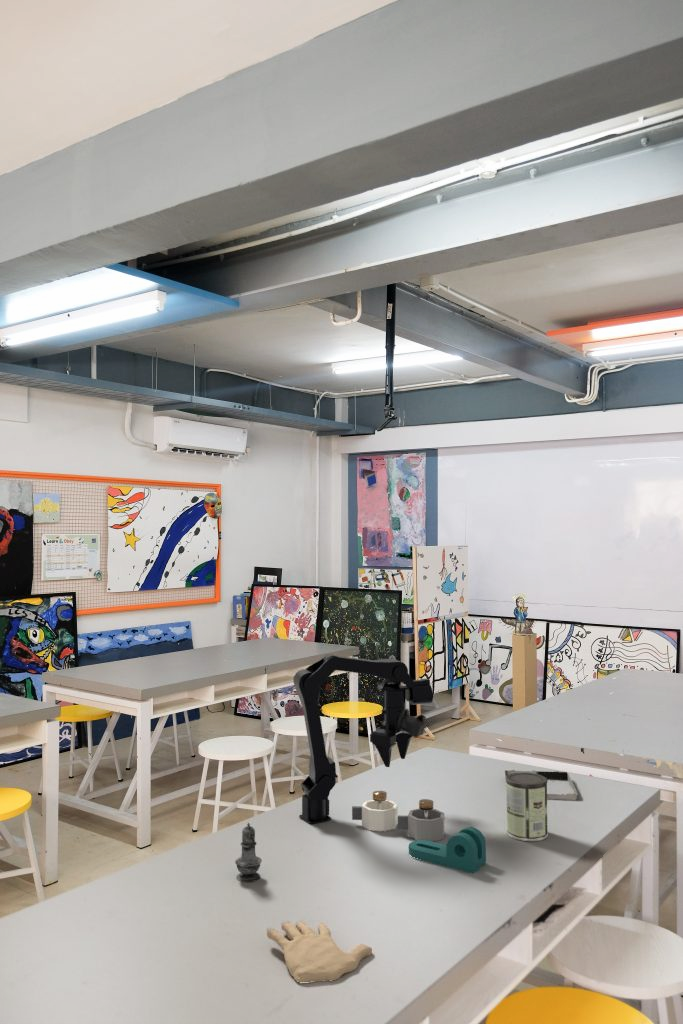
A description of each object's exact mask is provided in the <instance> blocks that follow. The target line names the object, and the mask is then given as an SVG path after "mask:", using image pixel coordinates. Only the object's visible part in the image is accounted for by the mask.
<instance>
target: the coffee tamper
mask: <svg viewBox="0 0 683 1024" xmlns="http://www.w3.org/2000/svg"><path fill="white" fill-rule="evenodd" d="M419 808H420V809H421V810H424V819H428V810H432V809H434V800H432V799H427V798H423V799H420V800H419V801H418V809H419Z"/></svg>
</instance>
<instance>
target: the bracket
mask: <svg viewBox="0 0 683 1024" xmlns="http://www.w3.org/2000/svg"><path fill="white" fill-rule="evenodd" d="M486 841H487V840H486V839H485V836H484V834H483V832H482V831H481V830H480V829H478V828H476V827H473V826H466V827H464V828H462V829H461V830H460V831H458V832H457V833H455V834H453V836H451V837H450V838H449V839H448V841H447V842H446V844H443V843H440V842H437V841H433V842H431V841H426V840H417V841H416V840H414V841H411V842H409V843H408V855H409V854H410V855H411V856H412V857H415V858H418V859H421V860H420V861H422V860H424V861H423V862H426V861H428V862H427V863H430V862H431V863H430V864H435V865H439V866H442V867H443V866H444V867H445V868H446V867H447V868H451V869H455V870H457V871H458V870H459V871H463V872H466V873H470V874H475V873H476V872H478V871H479V870H480V869H481V868H482V867H483V866H485V865H486V864H487V842H486ZM412 857H411V858H412ZM418 859H417V860H418Z"/></svg>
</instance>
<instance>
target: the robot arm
mask: <svg viewBox="0 0 683 1024" xmlns="http://www.w3.org/2000/svg"><path fill="white" fill-rule="evenodd" d="M335 671H341V672H348V673H356V674H363V675H370V676H376V677H377V678H378V677H379V678H382V679H384V680H382V681H381V683H380V684H378V685H377V689H378V690H379V691H382V692H384V709H382V710H381V715H384V723H383V724H381V729H380V728H378V729H377V730H374V731H372V732H371V733H370V734H369V742H370V743H372V745H374V747H375V748H376V750H377V751H378V754H379V756H380V758H381V760H382V761H383V765H384V767H386V768H390V766H391V759H392V758H391V757H392V749H393V748H394V746H395V745H396V746H397V749H398V752H399V756H400V759H401V760H404V759H406V755H407V752H408V749H409V747H410V741H411V740H412V738H418V737H419V736H422V735H423V734H424V731H425V729H426V728H428V725H427V718H426V716H425V715H423V714H419V715H417V717H416V716H413V715H410V710H409V708H406V706H407V705H406V704H407V702H408V703H409V704H410V705H414V706H415V705H429V704H430V705H431V704H432V703H433V702H434V701H433V700H434V692H433V688H432V685H431V681H430V679H428V678H422V679H413V678H412V677H411V675H410V674H409V669H408V666H407V665H406V664H405V663H404V662H402V661H400V660H398V659H395V658H380V659H376V660H375V659H373V660H372V659H365V658H357V657H351V656H350V657H349V656H343V655H336V654H333V653H327V654H325V655H324V656H322V658H320V659H319V660H317V661H315V662H313V663H312V664H310V665H309V666H307V667H306V668H304V669H303V668H302V669H299V670H298V671H297V672H295V674H294V675H293V679H292V681H293V685H294V689H295V692H296V693H297V695H298V698H299V700H300V703H301V705H302V711H303V717H304V723H305V729H306V734H307V739H308V742H307V743H308V747H309V753H310V754H309V755H310V757H309V763H308V776H307V777H306V778H305V779H304V780H303V781H302V782H301V784H300V787H301V789H302V792H303V793H304V794H303V795H302V796H301V808H302V809H301V814H299V815H298V817H299V818H300V819H302V820H304V821H305V822H307V823H308V824H310V825H313V824H317V823H323V822H326V821H331V820H332V817H331V816H330V799H329V795H330V793H331V790H333V788H335V785H336V783H337V778H338V777H339V776H338V775H337V773H336V772H337V771H336V762H335V761H334V760H333V759H332V758H331V757H330V756H327V750H326V744H325V738H324V733H323V725H322V721H321V719H322V718H321V714H320V707H319V701H320V695H321V685H322V684H324V683H325V682H326V681H327V679H328V678H329V677H331V675H332V674H333V673H334V672H335ZM386 680H388V681H390V682H387V681H386ZM400 683H401V684H404V685H399V684H400ZM406 701H407V702H406Z"/></svg>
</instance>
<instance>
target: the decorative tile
mask: <svg viewBox="0 0 683 1024" xmlns="http://www.w3.org/2000/svg"><path fill="white" fill-rule="evenodd" d="M513 773H534V774H539V775H542V776H544V777H546V778H547V780H560V781H561V780H566V781H567V782H568V783H569V785H570V787H571V789H572V790H573V792H574V793H566V794H565V793H562V794H560V793H559V794H557V793H556V794H554V793H547V800H562V801H563V800H565V801H578V800H579V799H578V795H579V794H578V790H577V788H576V787H575V785H574V782H573V781H572V778H571V777H570V775H569V773H568V771H567V772H566V771H536V770H515V769H511V770H504V775H505V776H504V778H505V779H504V780H506V776H507V775H509V774H513Z"/></svg>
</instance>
